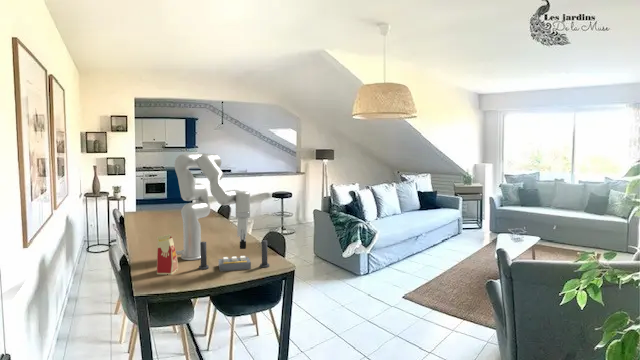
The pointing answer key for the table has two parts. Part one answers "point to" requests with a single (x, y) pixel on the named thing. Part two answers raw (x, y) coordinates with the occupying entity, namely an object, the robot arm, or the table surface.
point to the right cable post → (264, 255)
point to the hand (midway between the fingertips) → (242, 248)
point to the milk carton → (166, 255)
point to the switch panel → (234, 263)
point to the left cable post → (203, 256)
